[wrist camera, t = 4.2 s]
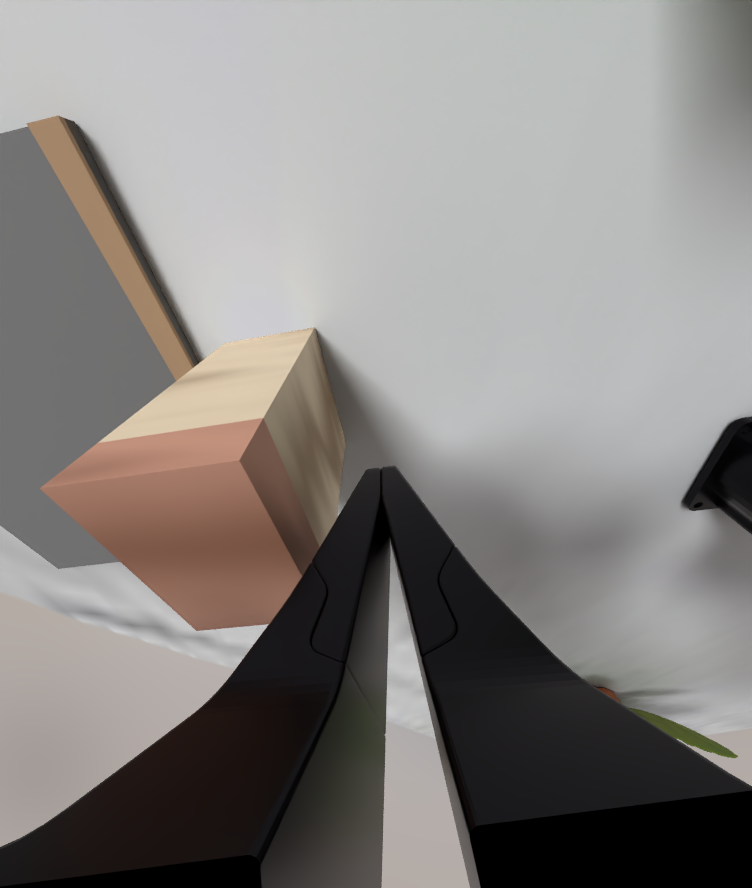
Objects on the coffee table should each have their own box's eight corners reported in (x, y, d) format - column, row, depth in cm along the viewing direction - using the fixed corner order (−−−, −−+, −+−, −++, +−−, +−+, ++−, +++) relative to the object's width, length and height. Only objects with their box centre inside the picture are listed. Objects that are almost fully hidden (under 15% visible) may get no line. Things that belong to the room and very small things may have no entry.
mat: (288, 536, 21) (286, 544, 20) (62, 563, 22) (55, 571, 22) (74, 121, 9) (57, 115, 9) (-369, 231, 11) (-404, 231, 10)
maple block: (345, 442, 16) (324, 618, 9) (274, 452, 17) (196, 630, 9) (314, 327, 13) (239, 460, 5) (224, 342, 13) (38, 488, 6)
